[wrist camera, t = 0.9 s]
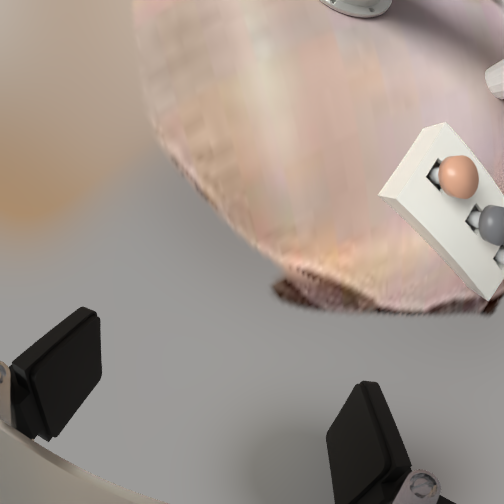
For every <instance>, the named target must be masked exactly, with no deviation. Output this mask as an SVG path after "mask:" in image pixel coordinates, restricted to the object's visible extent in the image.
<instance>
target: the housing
mask: <svg viewBox="0 0 504 504" xmlns="http://www.w3.org/2000/svg"><path fill="white" fill-rule="evenodd" d="M460 155H463V156H467V157H469V158H470V159H471V160H472V161H473V162H474V164H475V165H476V167H477V170H478V175H479V184H478V188H477V190H476V192H475V194H474V195H473V196H472V197H470V198H468V199H462V198H456V197H451V196H449V195H447V194H446V193H445V192H444V191H443V189H442V188H441V186H440V184H432V183H431V182H430V181H429V180H428V179H427V178H426V176H427V174H428V173H429V171H430V170H431V168H432V167H440V164H441V162H442V161H443V160H444V159H445V158H446V157H449V156H460ZM378 196H379V197H380V198H381V199H382V200H383V201H385V202H386V203H387V204H388V205H389V206H390V207H391V208H392V209H393V210H394V211H395V212H397V213H398V214H399V215H400V216H401V217H402V218H403V219H404V220H405V221H406V222H407V223H408V224H409V225H410V226H411V227H412V228H413V229H414V230H415V231H416V232H417V233H418V234H419V235H420V236H421V237H422V238H423V239H424V240H425V241H426V242H427V243H428V244H429V245H430V246H431V247H432V248H433V249H434V250H435V251H436V252H437V253H438V254H439V255H440V257H441V258H442V259H443V260H444V261H445V262H446V263H447V264H448V265H449V266H450V268H451V269H452V270H453V271H454V272H455V273H456V274H457V275H458V277H459V278H460V279H461V280H462V281H463V282H464V284H465V285H466V286H467V287H468V288H470V289H471V290H473V291H474V292H476V293H477V294H478V295H480V296H481V297H483V298H484V299H486V300H487V301H489V300H490V298H491V297H492V295H493V294H494V293H495V291H496V290H497V288H498V286H499V285H500V283H501V282H502V280H503V279H504V265H503V264H501V263H499V262H497V261H495V260H494V259H493V258H494V256H495V254H496V253H497V251H498V249H499V248H502V249H504V244H503V245H501V246H496V245H494V244H491V243H489V242H486V241H484V240H483V239H482V237H481V236H480V233H479V228H476V227H473V226H470V225H468V224H467V223H466V222H465V220H466V219H467V217H468V215H469V214H470V212H471V210H473V211H477V212H482V210H483V209H484V208H485V207H486V206H488V205H495V206H500V207H504V195H503V194H502V192H501V191H500V189H499V188H498V186H497V185H496V183H495V182H494V180H493V179H492V178H491V176H490V175H489V173H488V172H487V171H486V169H485V168H484V167H483V165H482V164H481V163H480V161H479V160H478V159H477V158H476V156H475V155H474V154H473V153H472V151H471V150H470V149H469V148H468V146H467V145H466V144H465V143H464V142H463V141H462V139H461V138H460V137H459V136H458V135H457V134H456V133H455V131H454V130H453V129H452V128H451V127H450V126H449V125H448V124H447V123H446V122H444V123H440V124H436V125H433V126H429V127H425V128H423V129H422V131H421V133H420V134H419V136H418V137H417V139H416V140H415V142H414V143H413V145H412V146H411V148H410V149H409V151H408V152H407V154H406V155H405V157H404V158H403V160H402V161H401V163H400V164H399V165H398V167H397V168H396V170H395V171H394V173H393V174H392V176H391V177H390V178H389V180H388V181H387V183H386V184H385V186H384V187H383V188H382V190H381V191H380V193H379V194H378Z"/></svg>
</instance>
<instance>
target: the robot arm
mask: <svg viewBox="0 0 504 504" xmlns="http://www.w3.org/2000/svg"><path fill="white" fill-rule="evenodd" d="M320 1H321V2H323V3H324V4H325V5H327V6H328V7H330V8H332V9H334V10H336V11H338V12H341V13H344V14H346V15H350V16H355V17H363V18H366V17H375V16H379V15H381V14H383V13H384V12H385V11H387V10H388V8H389V7H390V5H391V3H392V0H320ZM101 376H102V364H101V340H100V318H99V317H97V313H96V312H95V311H93V310H90V309H88V308H85V307H80V308H79V309H77V310H76V311H75V312H73V313H72V314H71V315H70V316H68V317H67V318H66V319H64V320H63V321H62V322H61V323H59V324H58V325H57V326H55V327H54V328H53V329H52V330H50V331H49V332H48V333H47V334H45V335H44V336H43V337H42V338H40V339H39V340H38V341H37V342H35V343H34V344H33V345H32V346H30V347H29V348H28V349H27V350H26V351H24V352H23V353H22V354H21V355H20V356H18V357H17V358H16V359H15V360H14V361H13V362H12V365H11V366H10V367H8V366H7V365H6V364H5V363H4V362H2V361H0V504H168V503H165V502H162V501H159V500H156V499H153V498H150V497H147V496H144V495H141V494H139V493H136V492H133V491H130V490H128V489H125V488H123V487H120V486H118V485H116V484H113V483H111V482H109V481H106V480H104V479H102V478H100V477H98V476H96V475H93V474H91V473H89V472H87V471H85V470H83V469H81V468H79V467H77V466H76V465H74V464H72V463H70V462H68V461H66V460H65V459H63V458H61V457H59V456H57V455H55V454H54V453H52V452H51V451H49V450H47V449H45V448H44V447H42V446H41V445H39V444H37V443H36V442H34V439H35V437H36V436H37V435H38V436H40V437H41V438H43V439H44V440H46V441H48V442H49V441H50V440H51V438H52V437H57V436H58V435H59V434H60V432H61V431H62V430H63V428H64V427H65V425H66V424H67V423H68V421H69V420H70V419H71V418H72V416H73V415H74V413H75V412H76V411H77V409H78V408H79V407H80V406H81V404H82V403H83V402H84V400H85V399H86V398H87V396H88V395H89V394H90V392H91V391H92V390H93V389H94V387H95V386H96V385H97V383H98V382H99V381H100V379H101ZM326 442H327V449H328V455H329V462H330V469H331V476H332V484H333V492H334V500H335V504H456V503H454V502H452V501H450V500H448V499H446V498H444V497H443V496H441V495H440V491H441V485H440V482H439V480H438V479H437V477H436V476H435V475H434V474H432V473H431V472H429V471H426V470H420V469H419V470H414V471H412V470H411V468H410V467H411V466H412V465H411V462H410V459H409V457H408V454H407V451H406V449H405V446H404V444H403V441H402V439H401V436H400V434H399V431H398V429H397V426H396V424H395V421H394V419H393V417H392V414H391V412H390V409H389V407H388V405H387V402H386V400H385V398H384V395H383V393H382V391H381V388H380V386H379V384H378V383H377V382H369V381H362V382H361V383H360V384H356V385H355V387H354V388H353V390H352V392H351V394H350V395H349V397H348V399H347V401H346V403H345V404H344V406H343V407H342V409H341V411H340V413H339V414H338V416H337V417H336V419H335V421H334V422H333V424H332V425H331V427H330V428H329V430H328V432H327V435H326Z"/></svg>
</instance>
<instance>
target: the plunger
mask: <svg viewBox="0 0 504 504" xmlns="http://www.w3.org/2000/svg"><path fill="white" fill-rule="evenodd" d="M493 259H494V260H495V261H497V262H499V263H501V264H503V265H504V249H502V248H499V249H498V251H497V253H496V254H495V256H494V258H493Z"/></svg>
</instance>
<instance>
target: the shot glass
mask: <svg viewBox="0 0 504 504" xmlns="http://www.w3.org/2000/svg"><path fill="white" fill-rule="evenodd" d="M485 80H486V83H487V86H488V88H489V89H490V91H491V93H492V94H493V95H494V96H495V97H496V98H499V99H504V59H503V60H501V61H499V62H498V63H496V64H494V65H493V66H491V67H489V68H488V69H487V70H486V71H485Z"/></svg>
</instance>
